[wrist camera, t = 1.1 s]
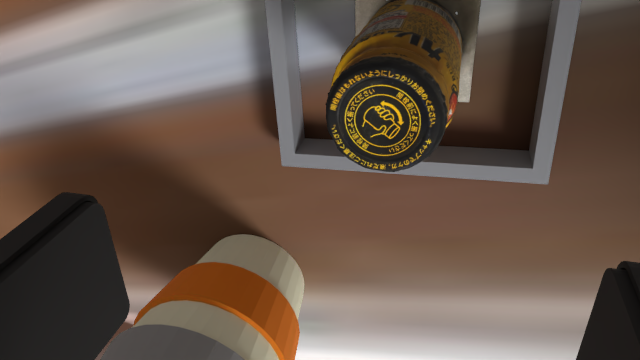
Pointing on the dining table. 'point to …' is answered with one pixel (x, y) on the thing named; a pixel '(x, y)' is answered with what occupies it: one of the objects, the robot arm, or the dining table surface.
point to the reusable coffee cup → (222, 308)
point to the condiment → (401, 80)
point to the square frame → (443, 158)
